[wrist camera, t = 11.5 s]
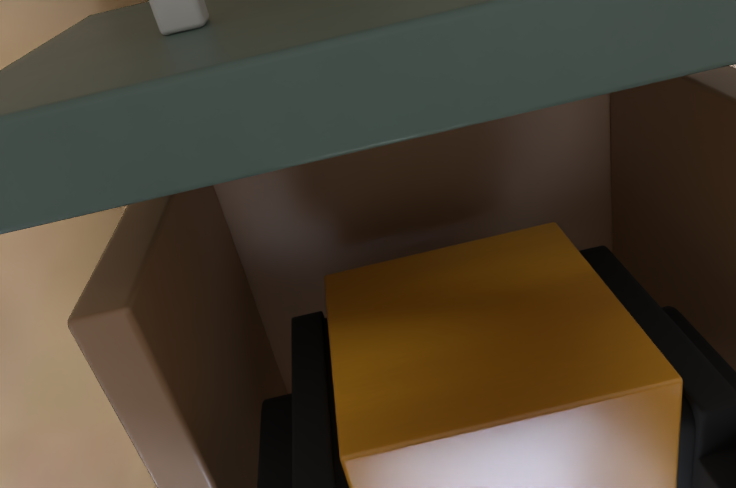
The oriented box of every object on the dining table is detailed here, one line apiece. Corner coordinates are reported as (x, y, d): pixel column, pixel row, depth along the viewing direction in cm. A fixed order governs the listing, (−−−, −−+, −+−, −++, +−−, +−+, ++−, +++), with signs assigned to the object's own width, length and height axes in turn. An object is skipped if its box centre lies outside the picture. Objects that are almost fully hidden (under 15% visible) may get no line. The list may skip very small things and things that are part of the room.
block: (370, 440, 13) (400, 649, 9) (322, 274, 11) (339, 459, 7) (566, 395, 13) (672, 586, 9) (555, 220, 11) (685, 379, 7)
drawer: (-26, -261, 10) (-546, -504, 4) (664, -427, 10) (1284, -954, 4) (274, 475, 19) (265, 767, 13) (646, 391, 19) (824, 643, 13)
